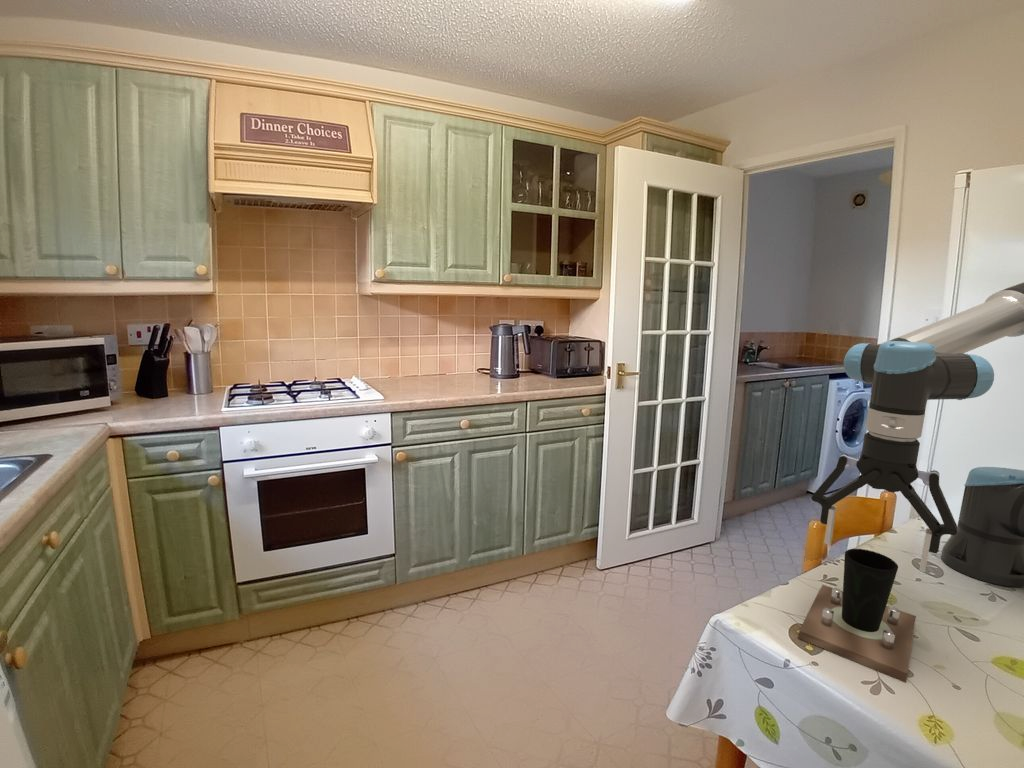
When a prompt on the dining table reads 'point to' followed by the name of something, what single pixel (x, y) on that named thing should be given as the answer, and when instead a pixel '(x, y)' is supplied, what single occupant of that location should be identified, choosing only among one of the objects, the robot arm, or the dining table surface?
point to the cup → (866, 588)
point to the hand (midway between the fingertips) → (872, 554)
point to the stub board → (860, 635)
